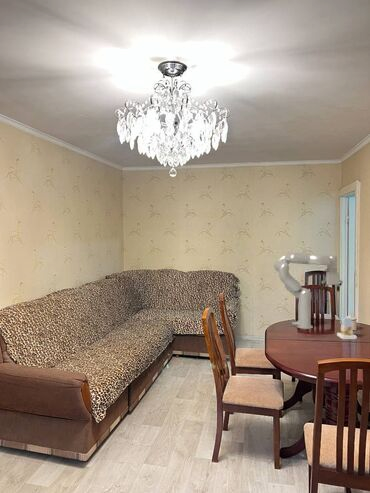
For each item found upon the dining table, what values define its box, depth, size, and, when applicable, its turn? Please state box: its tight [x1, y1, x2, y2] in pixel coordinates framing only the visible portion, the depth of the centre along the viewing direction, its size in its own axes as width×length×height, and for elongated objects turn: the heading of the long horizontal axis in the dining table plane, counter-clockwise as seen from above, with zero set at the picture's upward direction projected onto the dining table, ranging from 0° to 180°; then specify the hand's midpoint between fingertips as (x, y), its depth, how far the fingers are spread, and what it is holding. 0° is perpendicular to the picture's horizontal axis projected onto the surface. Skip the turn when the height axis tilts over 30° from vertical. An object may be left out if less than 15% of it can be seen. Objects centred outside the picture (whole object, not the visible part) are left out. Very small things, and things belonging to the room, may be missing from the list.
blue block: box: [341, 316, 352, 327], centre depth 265 cm, size 5×5×6 cm
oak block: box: [340, 324, 354, 336], centre depth 265 cm, size 6×6×6 cm
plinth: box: [336, 332, 358, 340], centre depth 265 cm, size 10×10×2 cm
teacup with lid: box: [339, 314, 357, 331], centre depth 288 cm, size 12×9×12 cm
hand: (332, 291), depth 299 cm, fingers open, 9 cm apart
